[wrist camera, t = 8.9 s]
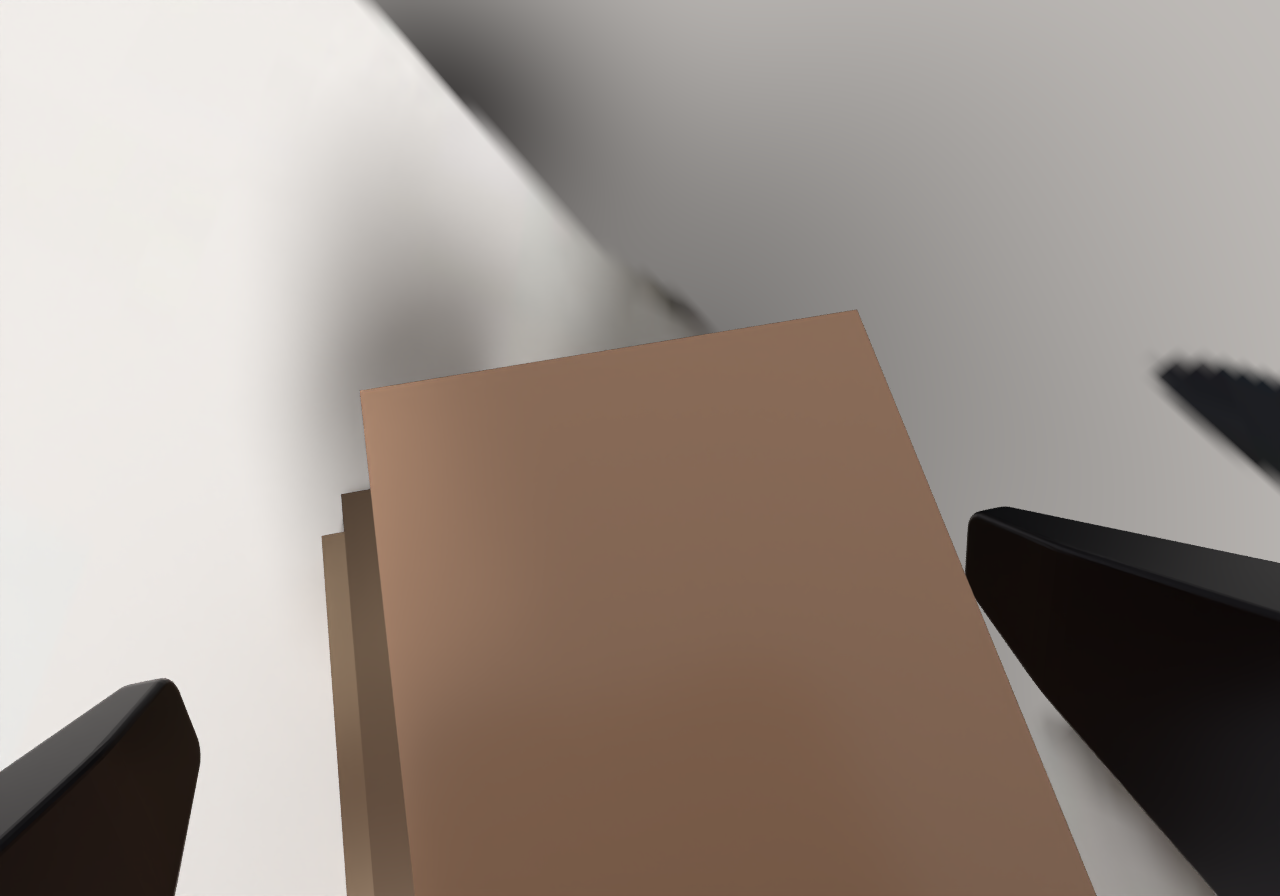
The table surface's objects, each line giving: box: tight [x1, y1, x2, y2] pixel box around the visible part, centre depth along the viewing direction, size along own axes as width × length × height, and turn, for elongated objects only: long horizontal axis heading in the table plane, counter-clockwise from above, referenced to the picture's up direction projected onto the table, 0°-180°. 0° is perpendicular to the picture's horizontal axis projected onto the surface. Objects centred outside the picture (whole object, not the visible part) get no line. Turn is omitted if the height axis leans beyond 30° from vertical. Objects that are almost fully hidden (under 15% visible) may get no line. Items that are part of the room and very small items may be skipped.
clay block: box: [360, 310, 1096, 896], centre depth 10 cm, size 4×3×13 cm
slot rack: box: [322, 489, 415, 896], centre depth 15 cm, size 12×10×4 cm
